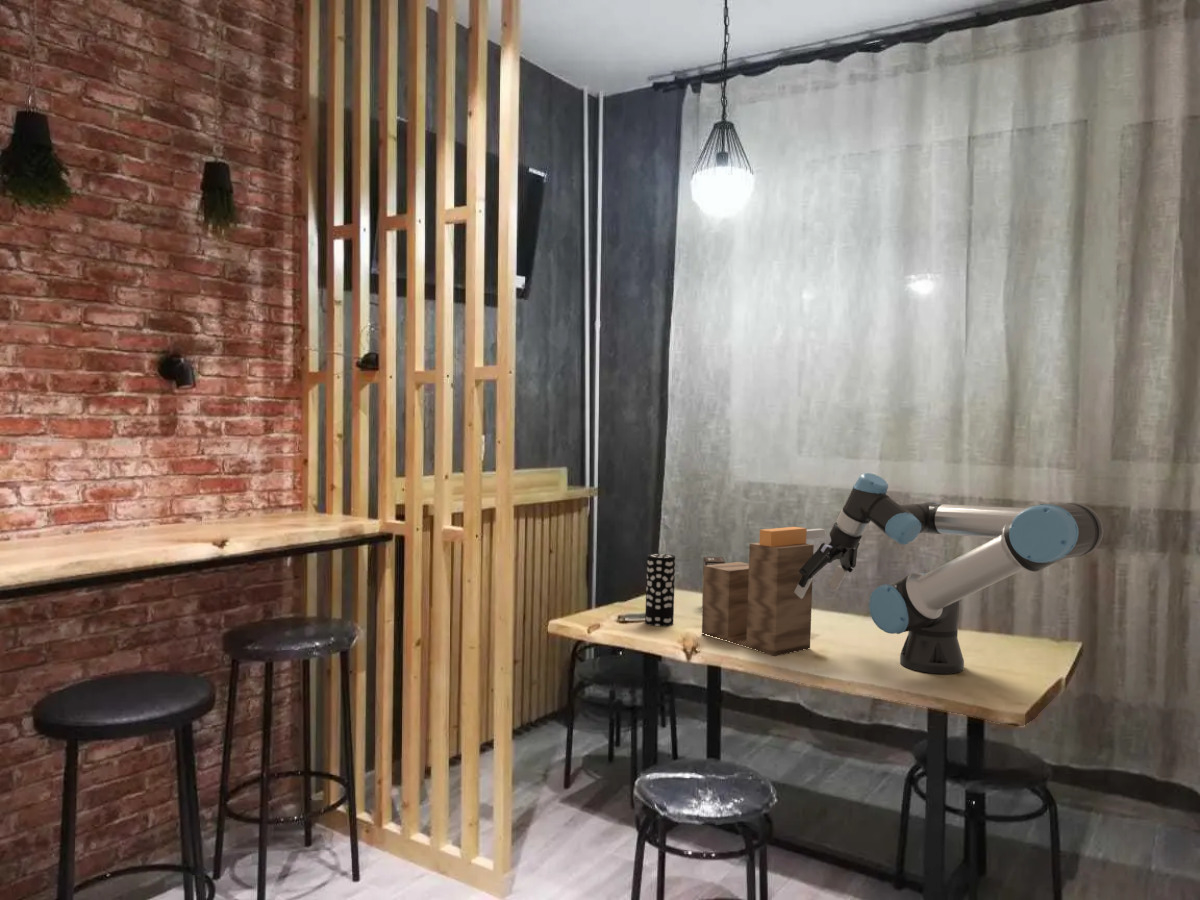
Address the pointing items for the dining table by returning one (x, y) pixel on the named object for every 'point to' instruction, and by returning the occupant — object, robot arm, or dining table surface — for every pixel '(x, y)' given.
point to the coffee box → (711, 562)
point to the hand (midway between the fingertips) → (814, 593)
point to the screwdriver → (788, 536)
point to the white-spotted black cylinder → (660, 589)
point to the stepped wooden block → (760, 600)
